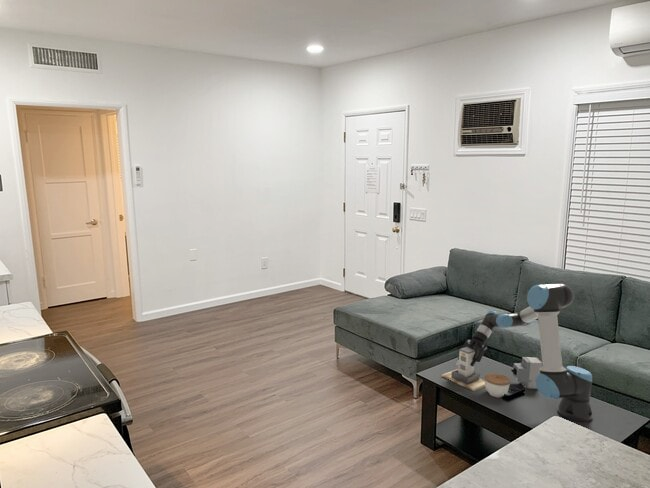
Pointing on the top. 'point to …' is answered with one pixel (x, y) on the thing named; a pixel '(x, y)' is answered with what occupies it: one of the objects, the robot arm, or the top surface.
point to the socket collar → (465, 379)
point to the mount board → (471, 386)
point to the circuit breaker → (527, 371)
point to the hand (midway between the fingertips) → (462, 367)
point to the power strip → (465, 361)
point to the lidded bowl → (496, 384)
